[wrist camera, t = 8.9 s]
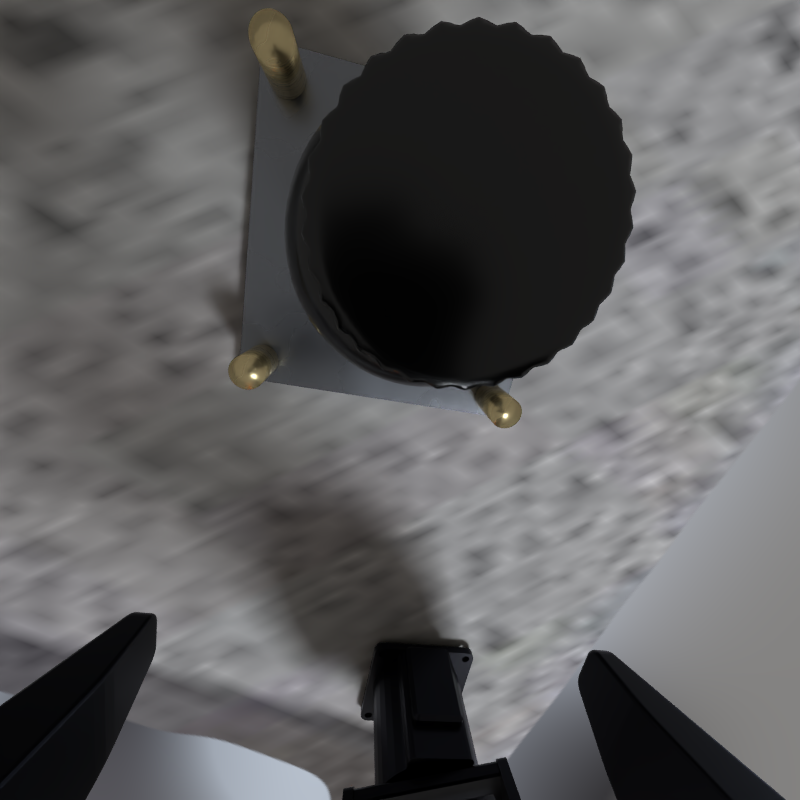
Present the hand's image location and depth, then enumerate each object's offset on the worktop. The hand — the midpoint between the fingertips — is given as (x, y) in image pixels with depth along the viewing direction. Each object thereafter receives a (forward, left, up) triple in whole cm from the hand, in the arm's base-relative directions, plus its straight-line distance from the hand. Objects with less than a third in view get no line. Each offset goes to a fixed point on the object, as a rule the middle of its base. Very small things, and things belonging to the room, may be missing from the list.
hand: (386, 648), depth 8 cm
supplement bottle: (+8, 0, -12) cm, 14 cm away
